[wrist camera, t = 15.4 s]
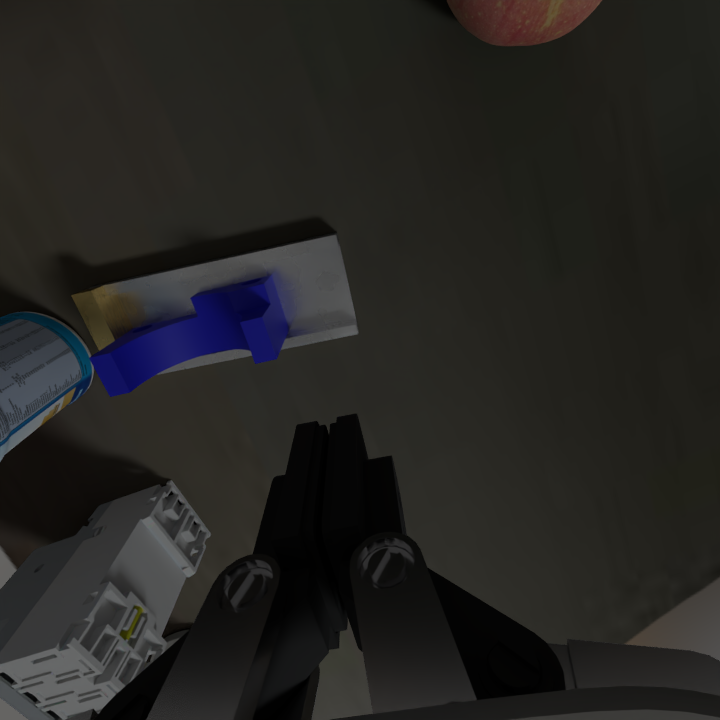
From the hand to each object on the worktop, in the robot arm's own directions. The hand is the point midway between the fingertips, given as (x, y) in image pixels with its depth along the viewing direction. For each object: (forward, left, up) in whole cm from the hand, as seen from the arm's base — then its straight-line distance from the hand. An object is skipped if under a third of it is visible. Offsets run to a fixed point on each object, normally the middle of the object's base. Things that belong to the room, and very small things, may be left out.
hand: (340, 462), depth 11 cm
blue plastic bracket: (-1, +12, -22) cm, 25 cm away
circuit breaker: (-20, +27, -22) cm, 40 cm away
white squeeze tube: (0, +10, -22) cm, 24 cm away
